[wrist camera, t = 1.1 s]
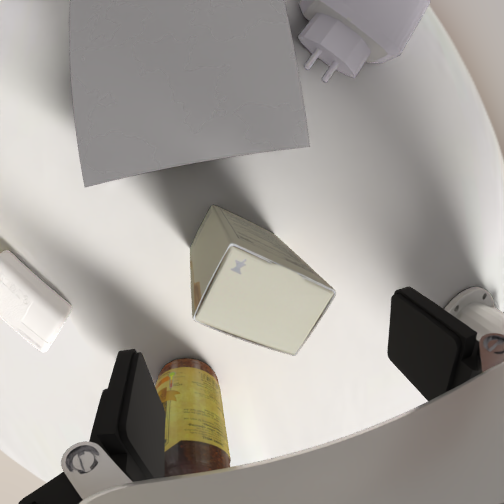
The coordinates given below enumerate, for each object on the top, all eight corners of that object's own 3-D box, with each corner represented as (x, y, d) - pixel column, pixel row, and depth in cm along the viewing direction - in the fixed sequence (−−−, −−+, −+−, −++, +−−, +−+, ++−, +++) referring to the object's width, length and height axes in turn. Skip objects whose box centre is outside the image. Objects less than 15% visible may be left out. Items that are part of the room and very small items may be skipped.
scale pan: (261, -29, 18) (271, -53, 14) (292, 148, 22) (310, 146, 19) (85, -1, 16) (71, -21, 13) (101, 183, 21) (84, 187, 17)
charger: (259, 51, 23) (337, -40, 21) (347, 113, 25) (408, 14, 23) (271, 31, 18) (356, -62, 16) (374, 106, 21) (434, 0, 19)
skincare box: (188, 249, 26) (182, 319, 15) (212, 202, 25) (224, 237, 14) (256, 280, 28) (296, 361, 16) (280, 236, 27) (340, 292, 16)
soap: (-10, 286, 24) (-25, 297, 21) (8, 245, 23) (-9, 254, 21) (53, 341, 27) (43, 357, 24) (76, 305, 26) (65, 320, 23)
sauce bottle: (155, 352, 28) (135, 550, 10) (221, 356, 30) (258, 552, 11) (157, 402, 30) (150, 576, 11) (216, 405, 31) (244, 577, 12)
